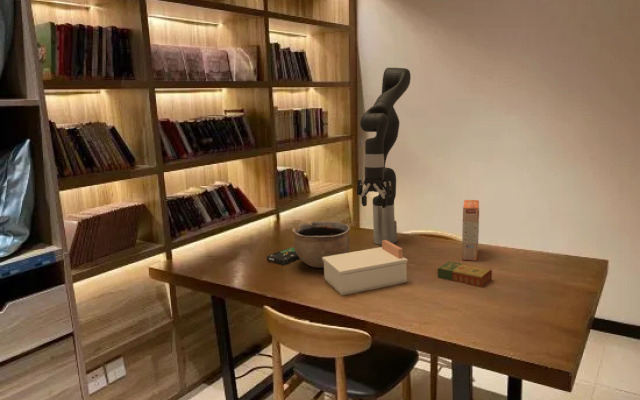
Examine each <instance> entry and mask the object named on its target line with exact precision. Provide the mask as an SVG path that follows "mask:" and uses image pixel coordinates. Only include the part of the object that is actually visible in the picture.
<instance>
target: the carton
mask: <svg viewBox="0 0 640 400" xmlns="http://www.w3.org/2000/svg"><path fill="white" fill-rule="evenodd" d="M492 276H493V269H491V268H486V267H481V266H477V265H476V266H475V265H470V264H463V263H460V262H453V261H449V260H448V261H447V262H446V263H443V264H442V265H440V266H439V267H438V268H437V278H438V279H442V280H446V281H451V282H456V283H460V284H464V285H468V286H473V287H478V288H483V287H485V285H487V284H489V283H490V282H491V281H492V280H493V279H492V278H493V277H492Z"/></svg>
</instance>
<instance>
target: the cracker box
mask: <svg viewBox="0 0 640 400" xmlns="http://www.w3.org/2000/svg"><path fill="white" fill-rule="evenodd" d="M463 201H464V202H463V206H462V207H463V208H462V237H461V238H462V239H461V246H462V247H461V259H462V261H471V262H472V261H473V262H475V261H478V257H479V256H478V252H479V231H480V228H479V227H480V201H479V200H477V199H465V200H463Z"/></svg>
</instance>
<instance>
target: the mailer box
mask: <svg viewBox="0 0 640 400" xmlns="http://www.w3.org/2000/svg"><path fill="white" fill-rule="evenodd" d="M323 273H324V274H323V275H324V280H325V282H327V283H328V284H329V285H330V286H331V287H332V288H333V289H334V290H336V291H337V292H338V293H339V294H340V295H341V296H345V295H346V296H347V295H351V294H356V293H361V292H366V291H371V290H376V289H377V290H378V289H381V288H385V287H390V286H396V285H400V284H406V283H407V281H408V280H407V278H408V277H407V262H406V263H400V264H395V265H390V266H384V267H379V268H373V269H368V270H363V271H357V272H352V273H346V274H341V275H340V274H339V273H337V272H336V271H335V270H334V269H333V268H331V267H330V266H329V265H328V264H327V263H326V262H324V267H323Z"/></svg>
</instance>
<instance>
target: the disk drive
mask: <svg viewBox="0 0 640 400" xmlns="http://www.w3.org/2000/svg"><path fill="white" fill-rule="evenodd" d="M299 259H300V258H299V257H298V255H297V253H296V252H295V248H294V246H292V247H288V248H286V249H285V248H284V249H282V250H279V251H277V252H275V253H272V254H268V255H267V256H266V261H267V262H268V263H269V262H270V263H272V264H276V263H277V265H280V264H281V265H280V266H283V265H285V266H287V265H290V264H292V263H295V262H297V261H299ZM296 260H297V261H296ZM300 260H301V259H300ZM294 261H295V262H294ZM291 262H292V263H291ZM289 263H290V264H289ZM286 264H287V265H286Z"/></svg>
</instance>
